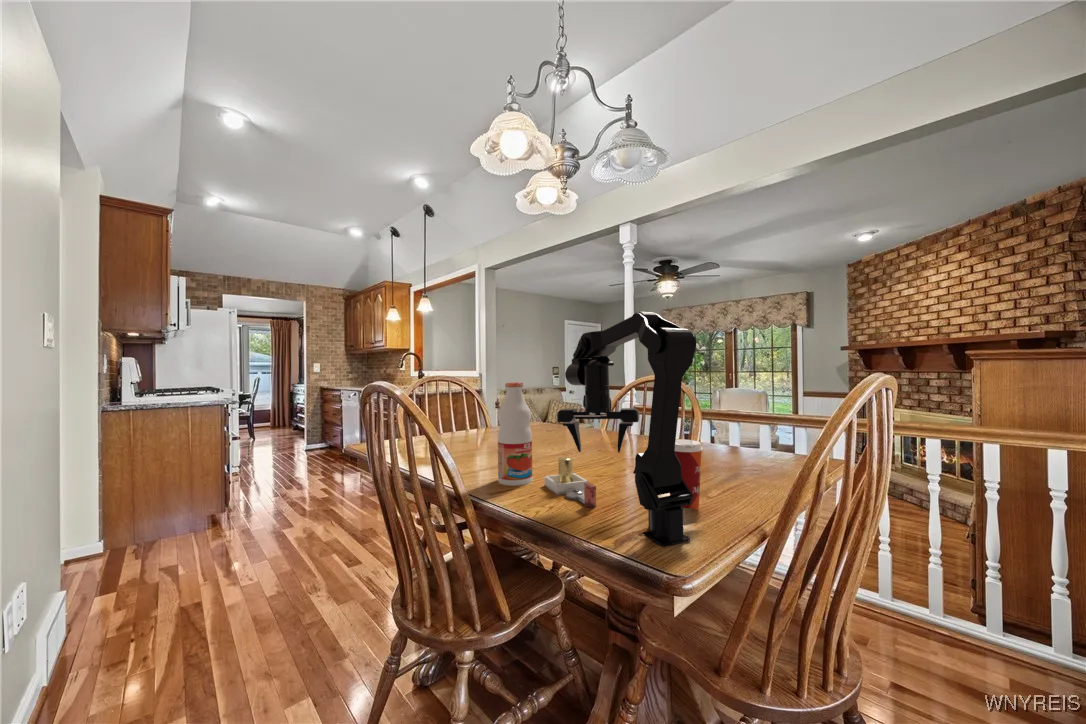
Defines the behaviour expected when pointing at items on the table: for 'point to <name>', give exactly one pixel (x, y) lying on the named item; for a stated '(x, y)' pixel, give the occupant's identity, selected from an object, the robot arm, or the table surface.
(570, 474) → the pin
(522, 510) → the table surface
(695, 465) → the coffee cup
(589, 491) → the crank
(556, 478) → the tray
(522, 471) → the fruit juice
